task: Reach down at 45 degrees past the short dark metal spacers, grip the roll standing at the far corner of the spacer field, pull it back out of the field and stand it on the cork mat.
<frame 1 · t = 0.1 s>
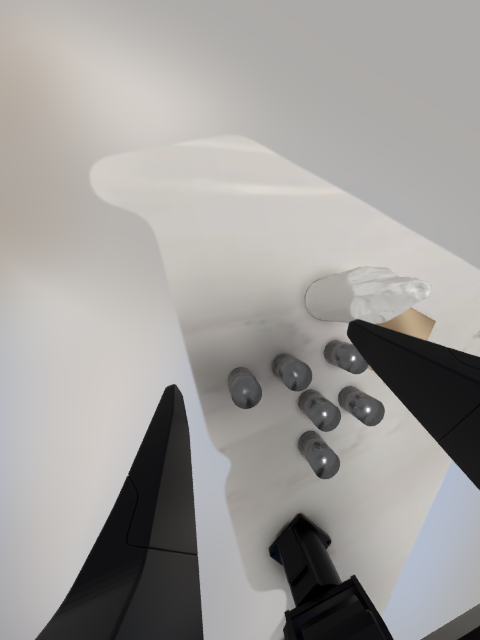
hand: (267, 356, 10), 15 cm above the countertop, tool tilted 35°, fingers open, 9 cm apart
mat: (391, 339, 28), on the countertop
spacer field: (320, 369, 27), on the countertop
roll: (325, 298, 27), on the countertop
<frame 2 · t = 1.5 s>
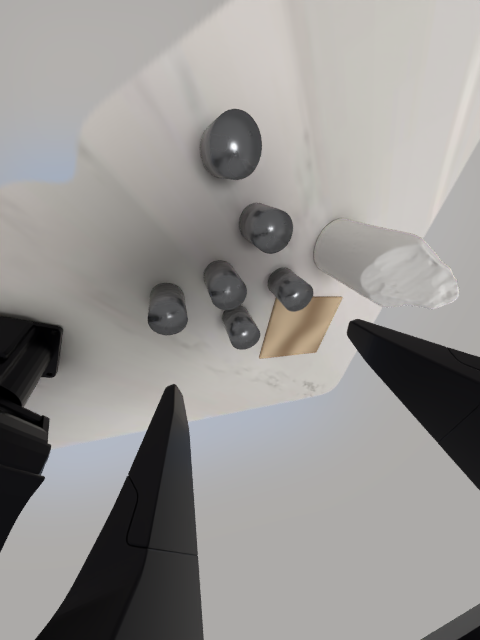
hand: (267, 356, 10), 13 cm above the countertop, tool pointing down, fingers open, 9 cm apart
mat: (298, 328, 29), on the countertop
spacer field: (260, 272, 22), on the countertop
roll: (334, 245, 23), on the countertop
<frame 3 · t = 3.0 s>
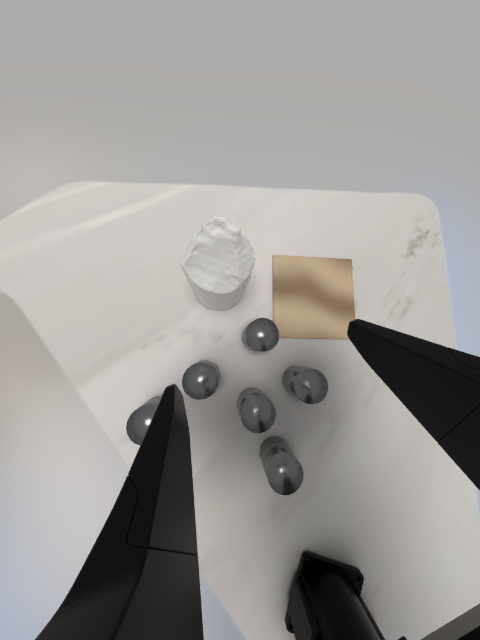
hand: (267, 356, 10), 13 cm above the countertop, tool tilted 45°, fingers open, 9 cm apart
mat: (313, 297, 25), on the countertop
spacer field: (247, 361, 23), on the countertop
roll: (219, 287, 24), on the countertop
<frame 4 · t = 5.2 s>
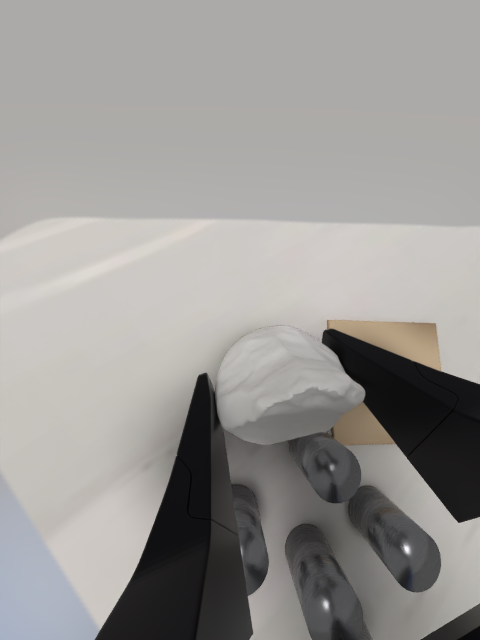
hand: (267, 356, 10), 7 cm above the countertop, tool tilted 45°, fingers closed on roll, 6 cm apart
mat: (385, 379, 18), on the countertop
spacer field: (297, 483, 16), on the countertop
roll: (254, 369, 17), on the countertop, touching gripper
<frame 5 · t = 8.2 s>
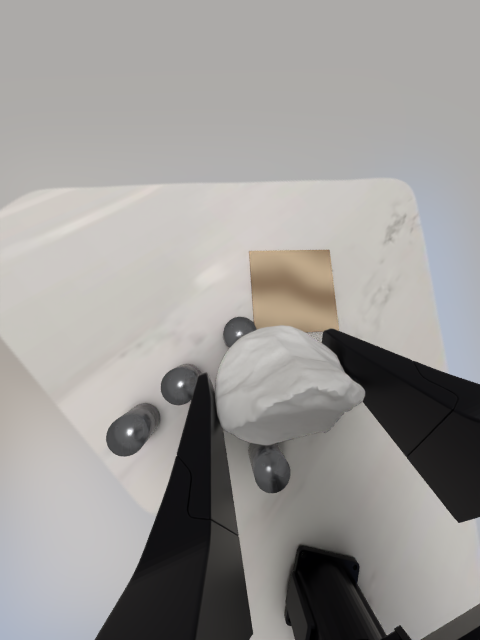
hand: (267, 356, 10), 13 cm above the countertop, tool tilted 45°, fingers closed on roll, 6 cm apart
mat: (293, 291, 25), on the countertop
spacer field: (230, 361, 23), on the countertop
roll: (253, 369, 17), point 6 cm above the countertop, touching gripper
when the fingers open (8 cm above the countertop, at t = 11.4 s): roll stays where it is, resting on mat.
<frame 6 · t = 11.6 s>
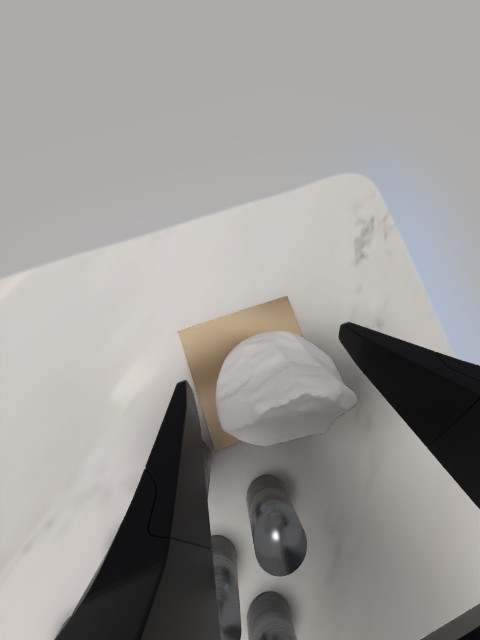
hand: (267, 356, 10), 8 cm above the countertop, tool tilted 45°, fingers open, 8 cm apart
mat: (253, 368, 17), on the countertop
spacer field: (189, 502, 16), on the countertop
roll: (254, 371, 17), resting on mat
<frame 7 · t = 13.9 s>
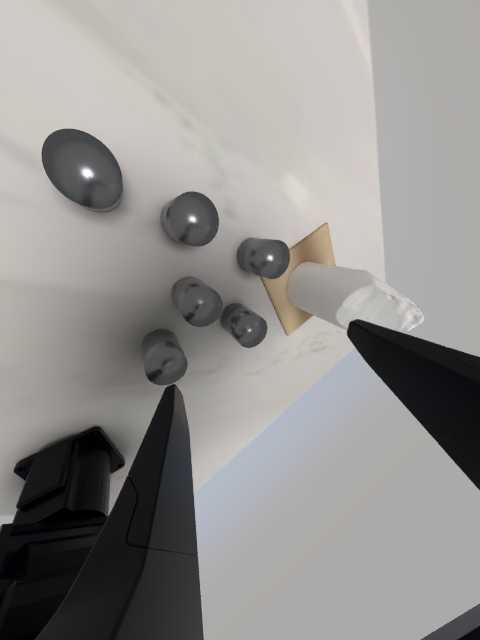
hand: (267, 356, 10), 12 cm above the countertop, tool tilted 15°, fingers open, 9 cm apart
mat: (304, 283, 25), on the countertop
spacer field: (224, 262, 19), on the countertop
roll: (303, 284, 25), resting on mat
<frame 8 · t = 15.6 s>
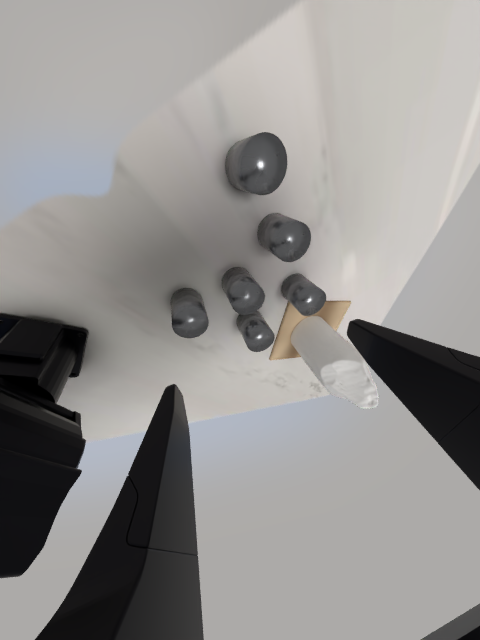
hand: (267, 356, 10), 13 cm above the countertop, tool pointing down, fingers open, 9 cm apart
mat: (308, 330, 30), on the countertop
spacer field: (274, 278, 23), on the countertop
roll: (307, 331, 30), resting on mat
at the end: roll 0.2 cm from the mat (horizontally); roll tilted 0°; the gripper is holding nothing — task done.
